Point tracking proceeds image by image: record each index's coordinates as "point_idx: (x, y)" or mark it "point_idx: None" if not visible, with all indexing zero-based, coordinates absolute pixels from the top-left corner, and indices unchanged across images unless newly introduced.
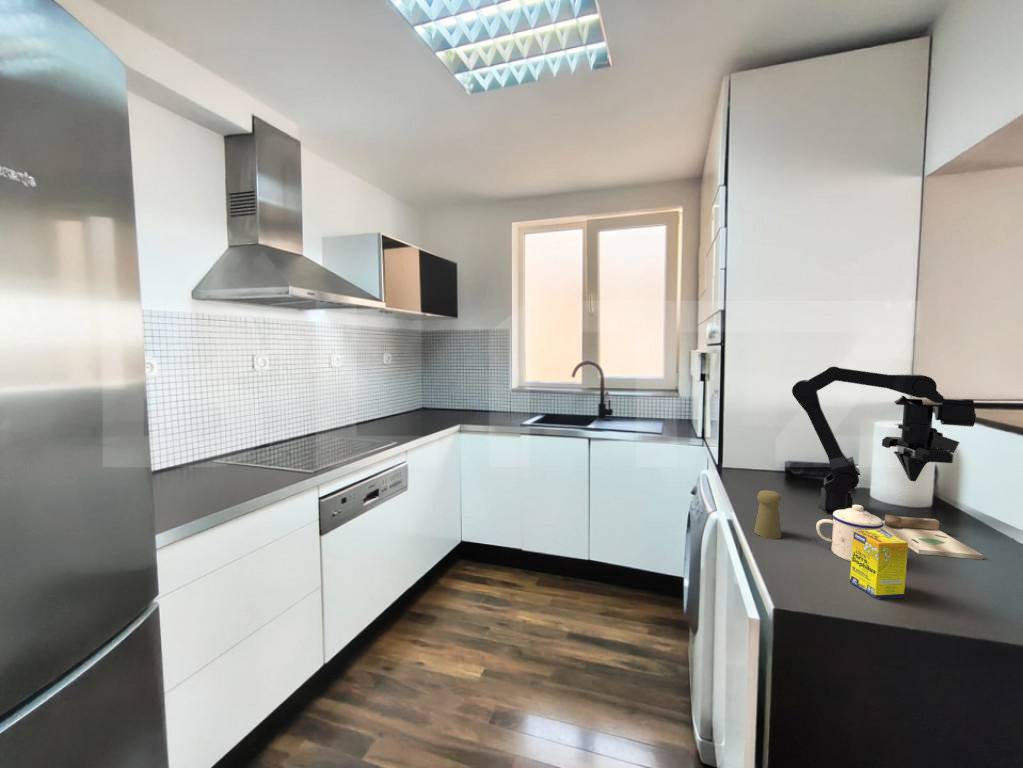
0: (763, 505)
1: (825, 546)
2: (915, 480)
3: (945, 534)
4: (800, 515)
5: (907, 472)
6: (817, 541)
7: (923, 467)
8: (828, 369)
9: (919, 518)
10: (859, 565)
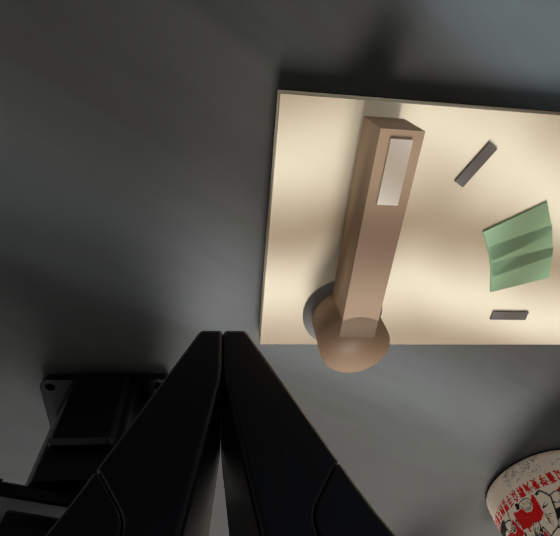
0: None
1: (473, 518)
2: (251, 342)
3: (448, 113)
4: (215, 517)
5: (213, 497)
6: (440, 524)
7: (389, 530)
8: None
9: (372, 225)
10: None
